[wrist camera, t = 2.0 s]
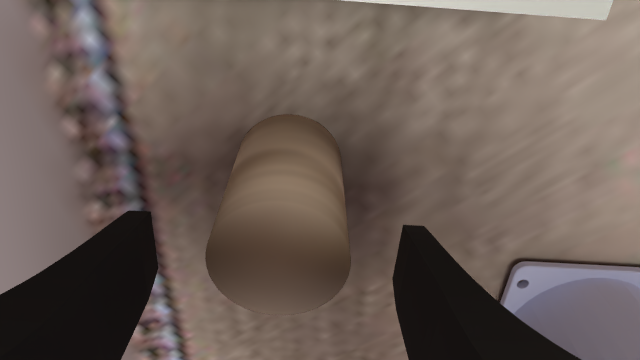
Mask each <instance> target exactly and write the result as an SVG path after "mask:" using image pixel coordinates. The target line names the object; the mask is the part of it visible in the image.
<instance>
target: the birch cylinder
mask: <svg viewBox="0 0 640 360" xmlns="http://www.w3.org/2000/svg"><path fill="white" fill-rule="evenodd" d="M350 265H351V257H350V246H349V236H348V226H347V216H346V206H345V196H344V185H343V175H342V165H341V156H340V151H339V147H338V145H337V143H336V141H335V139H334V138H333V136H332V135H331V134H330V133H329V131H328V130H326V129H325V128H324V127H323V126H322V125H320V124H319V123H317V122H315V121H314V120H312V119H309V118H306V117H303V116H299V115H277V116H273V117H270V118H267V119H265V120H263V121H261V122H259V123H258V124H256V125H255V126H254V127H253V128H252V129H251V130H250V131H249V132H248V133H247V134H246V136H245V137H244V139H243V141H242V143H241V146H240V148H239V151H238V154H237V157H236V160H235V163H234V166H233V169H232V172H231V175H230V178H229V181H228V184H227V187H226V190H225V193H224V196H223V199H222V202H221V205H220V208H219V211H218V214H217V217H216V220H215V223H214V226H213V229H212V231H211V234H210V237H209V240H208V243H207V248H206V266H207V269H208V273H209V275H210V277H211V279H212V281H213V282H214V284H215V285H216V287H217V288H218V289H219V290H220V291H221V292H222V293H223V294H224V295H225V296H226V297H227V298H228V299H230V300H231V301H233V302H234V303H236V304H238V305H240V306H242V307H244V308H246V309H249V310H251V311H255V312H258V313H263V314H268V315H294V314H299V313H304V312H307V311H310V310H313V309H315V308H318V307H320V306H321V305H323V304H325V303H326V302H328V301H329V300H331V299H332V298H333V297H334V296H335V295H336V294H337V293H338V292H339V291H340V290H341V288H342V287H343V285H344V284H345V282H346V280H347V277H348V275H349V271H350Z"/></svg>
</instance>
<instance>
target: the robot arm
mask: <svg viewBox="0 0 640 360" xmlns="http://www.w3.org/2000/svg"><path fill="white" fill-rule="evenodd" d="M157 270H158V262H157V255H156V247H155V240H154V233H153V225H152V218H151V212H147V211H127V212H126V213H124V214H123V215H122V216H120V217H119V218H117V219H116V220H115V221H113V222H112V223H111V224H109V225H108V226H107V227H105V228H104V229H102V230H101V231H100V232H98V233H97V234H96V235H94V236H93V237H92V238H90V239H89V240H87V241H86V242H85V243H83V244H82V245H80V246H79V247H78V248H76V249H75V250H73V251H72V252H70V253H69V254H67V255H66V256H64V257H63V258H61V259H60V260H58V261H57V262H55V263H54V264H52V265H51V266H49V267H48V268H46V269H44V270H43V271H42V272H40V273H38V274H36V275H35V276H33V277H31V278H30V279H28V280H26V281H25V282H23V283H21V284H19V285H17V286H15V287H14V288H12V289H10V290H8V291H6V292H5V293H2V294H1V295H0V360H121V358H122V356H123V354H124V352H125V350H126V347H127V345H128V343H129V341H130V339H131V337H132V335H133V332H134V330H135V328H136V326H137V324H138V322H139V319H140V317H141V315H142V313H143V311H144V309H145V306H146V304H147V302H148V300H149V297H150V294H151V290H152V287H153V284H154V281H155V277H156V274H157ZM520 280H524V281H522V282H519V281H520ZM393 288H394V297H395V304H396V311H397V315H398V319H399V323H400V327H401V331H402V335H403V339H404V343H405V347H406V351H407V354H408V358H409V360H640V267H624V266H605V265H587V264H568V263H549V262H530V261H525V262H520V263H517V264H516V265H515V266H514V267H513V269H512V271H511V274H510V276H509V279H508V282H507V285H506V287H505V290H504V293H503V296H502V298H501V301H500V303H499V302H498V301H497V300H495V299H494V298H493V297H492V296H491V295H490V294H489V293H488V292H486V291H485V290H484V289H483V288H482V287H481V286H480V285H479V284H478V283H477V282H476V281H475V280H474V279H473V278H472V277H471V276H470V275H469V274H468V273H467V272H466V271H465V270H464V269H463V268H462V267H461V266H460V265H459V264H458V263H457V262H456V261H455V260H454V259H453V258H452V257H451V256H450V254H449V253H448V252H447V251H446V250H445V249H444V248H443V247H442V246H441V244H440V243H439V242H438V241H437V240H436V239H435V238H434V237H433V235H432V234H431V233H430V232H429V231H428V230H427V229H426V228H425V227H424V226H414V225H403V228H402V233H401V239H400V244H399V249H398V254H397V259H396V264H395V269H394V274H393Z"/></svg>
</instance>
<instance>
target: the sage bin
mask: <svg viewBox="0 0 640 360" xmlns="http://www.w3.org/2000/svg"><path fill="white" fill-rule="evenodd" d="M343 1H357V2H370V3H383V4H397V5H410V6H423V7H437V8H450V9H463V10H477V11H490V12H504V13H517V14H530V15H544V16H557V17H570V18H584V19H597V20H606V19H607V16H608V14H609V11H610V8H611V5H612V3H613V0H343Z"/></svg>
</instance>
